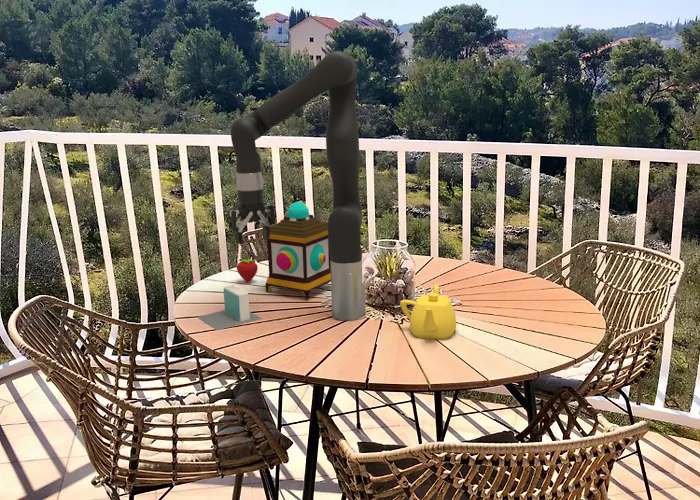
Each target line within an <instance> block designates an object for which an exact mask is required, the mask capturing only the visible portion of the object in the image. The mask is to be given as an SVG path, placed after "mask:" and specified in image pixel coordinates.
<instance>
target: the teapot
mask: <svg viewBox="0 0 700 500" xmlns="http://www.w3.org/2000/svg"><path fill="white" fill-rule="evenodd" d="M399 305H400V308H401V310H402V312H403V314H404V315H405V316H406V317H407V318H408V320H409V328H410V331H411V333H412V334H413V336H414V337H415V338H420V339H428V340H446V339H449V338H450V337H452V335H453V334H454V333H455V330H456V329H457V328H456V327H457V320H456V319H457V317H456V312H455V310H454V307H453V304H452V302H451V299H450V297H448V296H446V295H440V285H439V284H434V286H433V292H430V293H428V294H423V295H420V296H419V297H418V298H417V299H416V301H415V300H413V299H412V300H411V299H402V300H400V302H399ZM407 305H411V306H412V305H413V308H412V310H411V314H410V311H409V309H408V306H407Z"/></svg>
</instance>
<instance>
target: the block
mask: <svg viewBox="0 0 700 500" xmlns="http://www.w3.org/2000/svg"><path fill="white" fill-rule="evenodd" d="M223 299H224V300H223V302H224V310H225V312H226V313H227V314H229V315H231V316H232V317H234V318H236V319H237V320H239V321H245V320H249V319H250V312H251V310H250V297H249V292H247V291H245V290H243V289H241V288H239V287H237V286H235V285H227V286H224V287H223Z"/></svg>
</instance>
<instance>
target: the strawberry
mask: <svg viewBox="0 0 700 500" xmlns="http://www.w3.org/2000/svg"><path fill="white" fill-rule="evenodd" d="M258 269H259V268H258V264H257V263H256V262H255V260H254V259H252V258H247V259H240V260H239V262H238V264H237V265H236V271H237V273H238V274H239V276H240V277H241V279H243V281H244V282H245V283H247V284H248V283H249V284H250V282H251V281H252V280H253V279H254V277H255V276H256V275H257V273H258Z"/></svg>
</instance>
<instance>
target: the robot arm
mask: <svg viewBox="0 0 700 500" xmlns="http://www.w3.org/2000/svg"><path fill="white" fill-rule="evenodd" d="M357 66H358V65H357V63H356V60H355V58H354V57H353V56H352V55H351V54H350V53H348V52H344V51H340V50H336V51H335V50H334V51H333V50H332V51H331V52H329V53H326V55H325V56H324V57H323V58H322V59H321V60H320V61H319V62H318V63H317V64H316V65H314V67H312V69H311V70H309V71H308V72H307V73H306V74H305V75H303V76H302V77H301V78H300V79H298V80H297V81H296V82H294V83H292V84H291V85H289V86H287V87H286V88H284V89H283V90H281V91H280V92H278V93H277V94H275V95H273V96H272V97H271V98H269V99H268V100H266V101H265V102H263V103H262V104H261V105H260V106H259V107H258V109H257V110H255V111H253V112H251V113H250V114H249V115H247V116H245V117H242V118H241V117H240V118H237V119H235V121H234V122H233V123H232V125H231V128H230V137H231V145H232V147H233V152H234V155H235V163H236V164H235V166H236V193H237V204H238V208H237V209H234V210H233V209H229V210H228V230H230V231H232V232H235V241H236V243H237V244H238V245H239V246H241V245H244V236H243V235H244V234H243V230H244V228H245V227H246V226H247V225H248V223H249V224H251V223H254V222H255V223H256V222H257V223H258V222H260V224H261V225H262V239H263V240H265V241H267V240H269V238H270V226H272V225H276V215H275V213H276V212H275V207H274V206H275V205H273V204H270V203H267V204H266V205H265V204H264V202H265V197H264V196H265V195H264V180H263V179H264V178H263V173H262V162H261V155H260V153H259V152H258V151H257V146H256V145H257V144H256V141H257V140H258V139H260V138H261V137H262V136H264V135H265V134H266V133H268V132H269V131H271V130H272V128H274V127H276V126H278V125H279V124H281V123H282V122H284V121H285V120H287V119H289V118H290V117H292V116H293V115H294V114H295V113H297V112H298V111H300V110H301V109H302V108H303V107H304V106H305V105H306V104H307V103H309V102H310V101H312V100H313V99H315V98H316V97H318V96H320V95H321V94H323V93H326V92H328V97H329V110H328V118H327V123H326V132H325V148H326V161H327V167H328V170H329V174H330V177H331V178H330V179H331V182H332V190H333V196H332V197H333V198H332V201H333V202H332V211H331V213H330V214H329V216H328V220H327V223H328V242H329V252H330V261H331V282H330V288H331V289H330V290H331V292H330V293H331V316H332V318H334V319H335V320H339V321H354V320H358V319H360V318H362V317H363V316H364V315H366V306H367V304H366V283H364V282H363V251H362V245H361V226H362V224H363V213H362V206H361V200H360V191H359V176H360V175H359V174H360V140H359V138H360V137H359V127H358V126H359V124H358V116H357V107H356V96H357V95H356V92H357V89H356V88H357V75H358V67H357ZM265 212H266V216H267V218H266V217H265V215H264V213H265ZM238 216H239V218H238V220H237V217H238Z"/></svg>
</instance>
